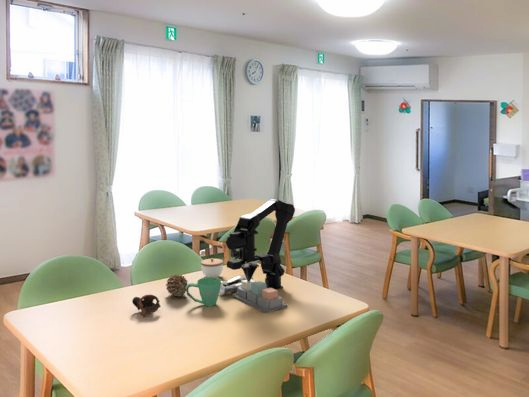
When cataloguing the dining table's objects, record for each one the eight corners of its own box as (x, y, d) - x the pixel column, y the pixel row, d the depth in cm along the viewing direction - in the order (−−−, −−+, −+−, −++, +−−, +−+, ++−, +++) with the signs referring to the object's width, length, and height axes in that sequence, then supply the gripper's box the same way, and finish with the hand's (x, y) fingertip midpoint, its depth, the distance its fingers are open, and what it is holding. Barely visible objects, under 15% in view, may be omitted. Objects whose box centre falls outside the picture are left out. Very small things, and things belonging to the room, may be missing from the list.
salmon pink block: (270, 299, 211) (270, 287, 210) (277, 302, 207) (277, 290, 207) (261, 301, 208) (261, 289, 208) (268, 304, 205) (268, 292, 204)
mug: (219, 299, 218) (219, 276, 216) (223, 307, 208) (223, 283, 207) (185, 302, 214) (184, 279, 213) (187, 310, 205) (186, 286, 203)
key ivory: (250, 289, 223) (249, 278, 222) (256, 292, 219) (255, 281, 218) (241, 291, 220) (241, 280, 219) (247, 294, 217) (247, 283, 216)
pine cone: (192, 299, 217) (192, 277, 216) (170, 303, 213) (169, 280, 212) (180, 284, 237) (179, 264, 236) (159, 287, 234) (158, 266, 232)
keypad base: (253, 291, 227) (253, 282, 226) (287, 306, 208) (287, 297, 207) (232, 296, 220) (232, 287, 220) (265, 313, 201) (265, 303, 201)
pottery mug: (164, 309, 208) (164, 295, 203) (154, 327, 201) (154, 313, 196) (136, 300, 210) (136, 286, 205) (125, 317, 202) (125, 304, 197)
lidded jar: (198, 279, 245) (198, 260, 243) (204, 273, 255) (204, 254, 254) (220, 280, 243) (220, 261, 242) (225, 274, 253) (225, 255, 252)
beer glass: (219, 296, 225) (248, 289, 233) (225, 295, 219) (255, 288, 227) (215, 281, 226) (245, 274, 234) (222, 279, 220) (252, 272, 228)
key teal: (260, 292, 217) (260, 280, 216) (266, 295, 213) (266, 283, 212) (251, 294, 214) (251, 282, 213) (257, 297, 210) (257, 285, 210)
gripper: (255, 239, 229) (255, 272, 231) (219, 245, 218) (220, 280, 220) (270, 243, 220) (270, 278, 222) (233, 250, 209) (234, 287, 211)
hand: (248, 281), depth 219 cm, fingers closed, pressing on key ivory
